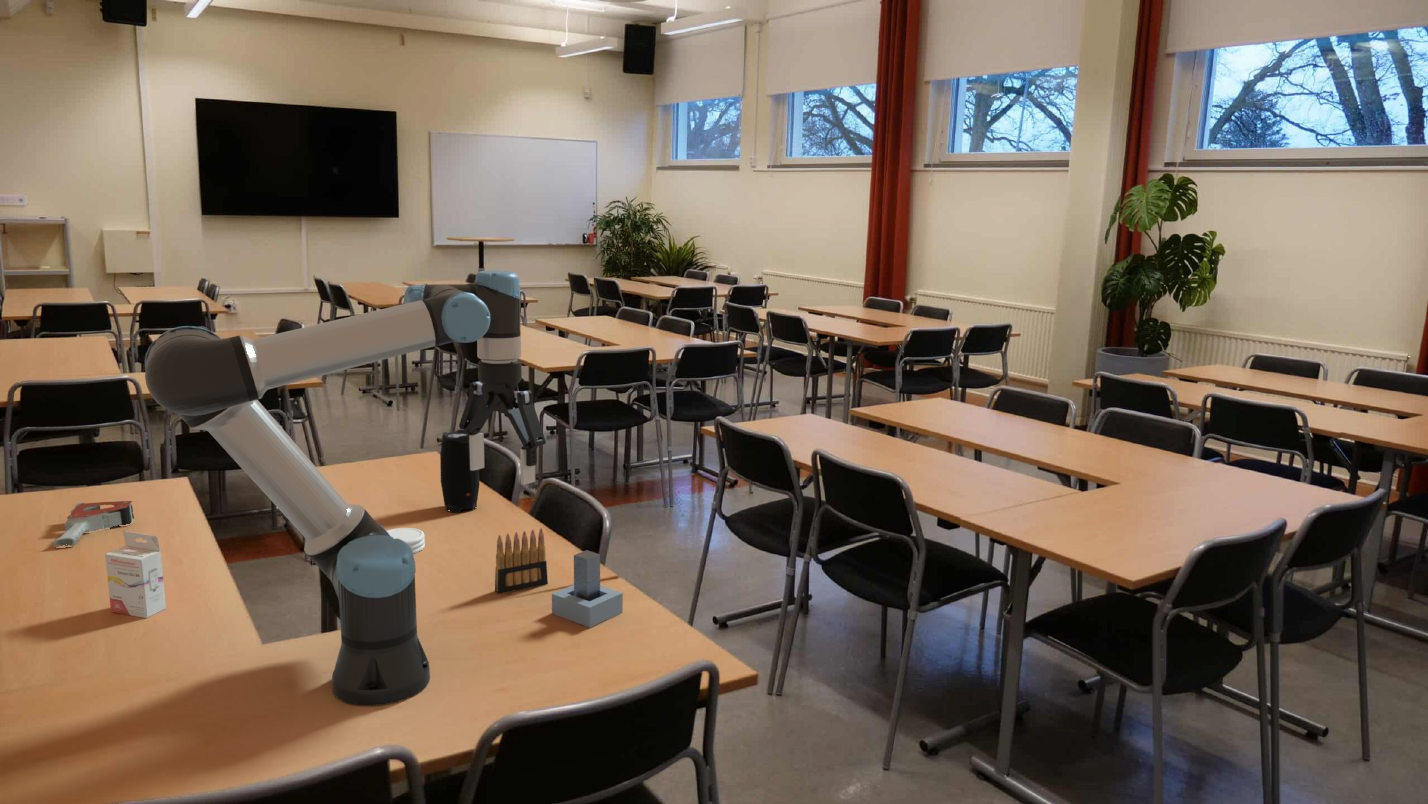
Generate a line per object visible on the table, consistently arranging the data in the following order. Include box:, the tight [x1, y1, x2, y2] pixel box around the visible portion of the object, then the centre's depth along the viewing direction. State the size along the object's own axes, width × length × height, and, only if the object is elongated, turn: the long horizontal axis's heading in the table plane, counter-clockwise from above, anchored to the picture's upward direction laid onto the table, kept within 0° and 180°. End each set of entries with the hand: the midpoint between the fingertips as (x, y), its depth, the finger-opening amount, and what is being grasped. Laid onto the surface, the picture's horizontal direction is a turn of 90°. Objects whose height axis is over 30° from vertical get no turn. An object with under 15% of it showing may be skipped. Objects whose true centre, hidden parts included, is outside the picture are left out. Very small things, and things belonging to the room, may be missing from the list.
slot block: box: [551, 584, 624, 629], centre depth 192 cm, size 9×10×4 cm
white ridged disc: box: [386, 527, 426, 555], centre depth 224 cm, size 10×10×4 cm
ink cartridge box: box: [104, 530, 167, 619], centre depth 187 cm, size 9×5×15 cm, turn 74°
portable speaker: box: [439, 429, 480, 513], centre depth 251 cm, size 9×9×20 cm
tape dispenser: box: [52, 500, 135, 548], centre depth 230 cm, size 18×5×20 cm
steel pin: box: [573, 549, 601, 601], centre depth 191 cm, size 4×4×11 cm
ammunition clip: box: [494, 527, 549, 594], centre depth 203 cm, size 11×2×12 cm, turn 122°
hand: (502, 475), depth 181 cm, fingers open, 13 cm apart
